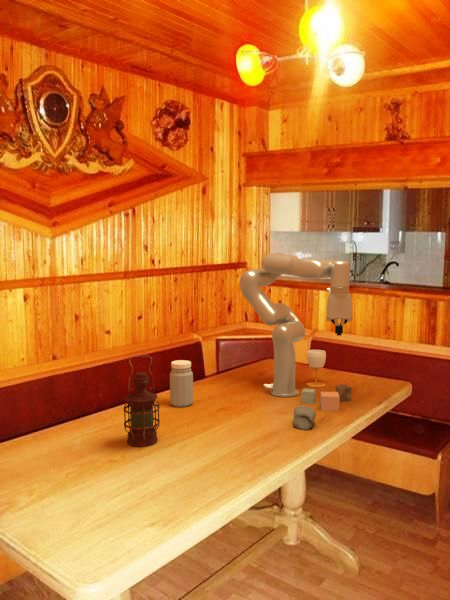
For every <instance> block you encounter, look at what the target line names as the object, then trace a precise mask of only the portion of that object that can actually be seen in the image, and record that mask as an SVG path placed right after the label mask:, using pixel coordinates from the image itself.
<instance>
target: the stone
mask: <svg viewBox="0 0 450 600" xmlns="http://www.w3.org/2000/svg"><path fill="white" fill-rule="evenodd" d="M316 413H317V412H316V411H315V410H314V409H313V408H312V407H309V406H304V405H299V406H296V407H295V408H294V409H293V426H294V428H295V429H297V430H299V431H309V430H311V429H312V427H313V424H314V422H315V419H316V415H317V414H316Z"/></svg>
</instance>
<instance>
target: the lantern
mask: <svg viewBox="0 0 450 600" xmlns="http://www.w3.org/2000/svg"><path fill="white" fill-rule="evenodd" d="M140 357H141V358H142V357H147V358H150V363H149V365H148V371H149V374H150V375H151V377H152V385H150V387H149V389H150V390H151V391H149V390H147V386H149V384H150V381H151V380H150V378H149V375H148V374H147V373H146V372H145V371H143V372H142V371H138V372H136V373H135V375H134V377H133V379H132V383H133V386H134V387H136V390H135V391H134V392H133V387H131V382H130V381H131V377H132V375H133V372H134V368H133V365H132V362H131V361H132V359H134V358H140ZM128 362H129V365H130V366H131V373H130V376H129V377H128V392H129V394H127V395H126V396H125V401H127V402H126V403H125V405H124V406H123V413H124V414H123V415H124V416H123V419H124V421H123V422H124V423H123V425H124V427H123V428H124V430H125V432H126V433H127V440H126V443H127V445H129V446H131V447H135V448H144V447H145V448H146V447H151V446H154V445H156V444H157V443H158V440H159V439H158V436H157V435H158V432H157V430H158V429H159V427H160V424H161V421H160V404H159V402H158V401H157V399H158V395H157V394H156V393H155V392H153V391H154V390H155V379H154V375H153V373H152V372H151V369H150V367H151V365H152V362H153V358H152V357H151V356H150V355H147V354H146V355H145V354H144V355H134V356H131V357H129V360H128ZM130 389H131V390H130ZM155 402H156V403H155ZM126 414H128V415H127V417H128V418H126ZM126 419H127V420H126ZM127 423H128V425H127ZM127 429H129V430H127Z"/></svg>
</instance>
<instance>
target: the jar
mask: <svg viewBox="0 0 450 600" xmlns="http://www.w3.org/2000/svg"><path fill="white" fill-rule="evenodd" d="M170 366H171V367H170V368H171V369H170V370H171V371H170V372H169V402H170V404H171V405H172V406H173V407H175V408H186V407H190V406H192V404H193V403H194V373H193V371H192V368H191V367H192V362H191V360H185V359H179V360H178V359H177V360H173V361H171V365H170Z"/></svg>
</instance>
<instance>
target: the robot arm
mask: <svg viewBox="0 0 450 600" xmlns="http://www.w3.org/2000/svg"><path fill="white" fill-rule="evenodd" d="M261 267H262V268H252V269H247V270H245V271H244V272H243V273H242V274H241V275H240V278H239V289H240V293H241V294H242V296H243V297H244V298H245V300H246V301H247V302H248V303H249V304H250V306H251V307H252V309H253V310H254V311H255V313H256V314H257V315H258V317H259V318H260V319H261V320H262V322H263V323H264V324H265V325H267V326H271V327H272V326H275V327H273V330H272V334H271V337H272V338H271V339H272V344H273V345H272V346H273V382H271V383H263V388H264V389H267V390H269V392H270V394H271V395H272V396H275V397H279V398H280V397H282V398H288V397H289V398H292V397H295V396H298V395H299V393H300V392H299V390H298V389H297V388H296V361H297V360H296V359H297V358H296V349H295V346H294V344H295V343H297V342H300V341H302V340H304V338H305V335H306V329H305V326H304V324H303V322H302V321H301V319H299V318H298V316H297V315H296V314H295V313H294V311H293V309H292V308H290V307H289V305H287V304H285V303H282V302H276V303H275V302H273V301H272V300H271V299H270V297H269V296H268V294H266V292H264V291H263V290H261V288H263V287H264V288H265V287H268V286H270V285H271V284H273V283H274V282H275V281H276V280H277V279H278V278H279V277H281V276H282V275H288V276H293V277H298V278H299V277H300V278H303V279H304V278H305V279H313V280H314V279H315V280H316V279H317V280H319V279H326V278H327V279H328V278H330V285H329V286H330V287H326V292H329V293H328V295H327V296H328V297H327V304H326V317H325V321H326V322H330V323H332V324H333V325H334V326H335V327H334V333H335V334H336V336H338V337H339V336H340V337H341V336H342V334H343V333H344V325H346V323H350V322H352V321H353V300H352V298H353V297H352V294H351V293H350V262H349V261H348V260H330V259H315V260H314V259H302V258H299V257H298V256H297V255H290V254H285V253H281V252H275V253H274V252H272V253H268V254H265V255H264V256H263V257H262V258H261ZM338 320H340V322H339V321H338Z"/></svg>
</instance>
